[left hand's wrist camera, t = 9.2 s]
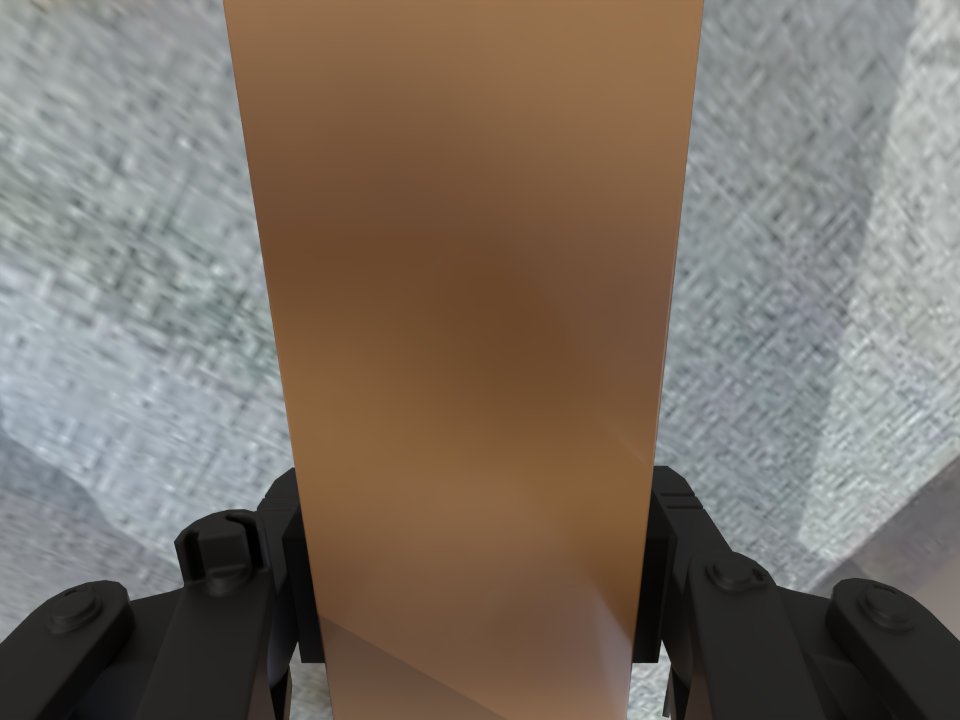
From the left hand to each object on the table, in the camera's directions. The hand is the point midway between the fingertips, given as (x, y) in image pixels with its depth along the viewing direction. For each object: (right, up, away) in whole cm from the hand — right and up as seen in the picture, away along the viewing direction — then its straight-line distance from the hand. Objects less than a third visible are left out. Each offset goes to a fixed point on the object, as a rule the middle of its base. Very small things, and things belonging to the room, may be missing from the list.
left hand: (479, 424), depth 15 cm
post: (0, +24, -8) cm, 25 cm away
